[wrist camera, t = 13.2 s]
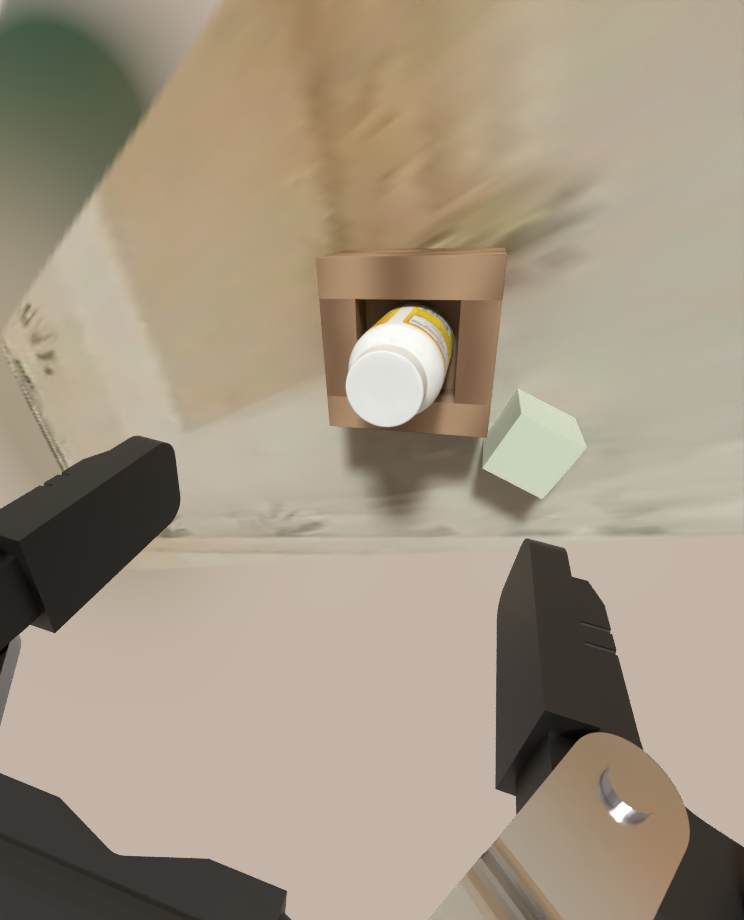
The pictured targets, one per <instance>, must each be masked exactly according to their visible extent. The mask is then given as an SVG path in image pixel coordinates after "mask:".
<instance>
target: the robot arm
mask: <svg viewBox="0 0 744 920" xmlns="http://www.w3.org/2000/svg"><path fill="white" fill-rule="evenodd" d="M179 506H180V491H179V483H178V475H177V467H176V459H175V452H174V449H173V447H172V446H171V445H170V444H168V443H165V442H161V441H157V440H153V439H149V438H146V437H142V436H133V437H131V438H129V439H127V440H126V441H124V442H123V443H121V444H119V445H118V446H116V447H114V448H113V449H111V450H110V451H107V452H104V453H101V454H98V455H95V456H92V457H89V458H86V459H83V460H81V461H80V462H78V463H76V464H75V465H73V466H71V467H70V468H68V469H66V470H65V471H63V472H62V475H56V476H55V477H53V478H51V479H50V480H48V481H46V482H45V483H44V486H39V487H36V488H35V489H33V490H32V491H30V492H28V493H26V494H25V495H23V496H21V497H20V498H18V499H16V500H15V501H13V502H12V503H10V504H8V505H6V506H5V507H3V508H1V509H0V724H1V720H2V717H3V713H4V709H5V705H6V702H7V698H8V694H9V690H10V686H11V683H12V679H13V675H14V671H15V667H16V664H17V660H18V656H19V653H20V648H21V639H20V636H19V634H20V633H21V632H22V631H23V630H24V629H26V628H27V627H28V626H29V625H33V626H36V627H39V628H42V629H44V630H48V631H50V632H53V633H56V632H57V631H58V630H59V629H60V628H61V627H62V626H63V625H64V624H65V623H66V622H67V621H68V620H69V619H70V618H71V617H72V616H73V615H74V614H76V612H78V611H79V609H81V608H82V607H83V606H84V605H85V604H86V603H87V602H88V601H89V600H90V599H91V598H92V597H93V596H94V595H95V594H96V593H98V592H99V590H101V589H102V588H103V587H104V586H105V585H106V584H107V583H108V582H109V581H110V580H111V579H112V578H113V577H114V576H115V575H117V574H118V572H119V571H121V570H122V569H123V568H124V567H125V566H126V565H127V564H128V563H129V562H130V561H131V560H132V559H133V558H134V557H135V556H136V555H138V554H139V553H140V552H141V551H142V550H143V549H144V548H145V547H146V546H147V545H148V544H149V543H150V542H151V541H152V540H153V539H154V538H155V537H156V536H158V535H159V534H160V533H161V532H162V531H163V530H164V529H165V528H166V527H167V526H168V525H169V524H170V523H171V522H172V521H173V519H174V518H175V516H176V514H177V512H178V509H179ZM610 630H611V628H610V624H609V621H608V617H607V613H606V609H605V605H604V604H603V602H602V601H601V599H600V598H599V596H598V595H597V594H596V592H595V591H594V589H593V588H592V586H591V585H590V584H589V582H588V581H585V580H582V579H578V578H574V577H572V576H571V571H570V566H569V561H568V555H567V552H566V550H565V549H564V548H562V547H558V546H554V545H550V544H546V543H543V542H539V541H535V540H531V539H525V540H524V541H523V543H522V545H521V547H520V550H519V552H518V555H517V557H516V559H515V562H514V564H513V566H512V569H511V571H510V574H509V576H508V579H507V581H506V583H505V586H504V588H503V591H502V594H501V597H500V601H499V606H498V613H497V674H496V677H497V678H496V789H498V790H500V791H503V792H506V793H509V794H512V795H514V796H516V816H515V818H514V819H513V820H512V821H511V823H510V824H509V825H508V826H507V827H506V829H505V830H504V831H503V832H502V833H501V835H500V836H499V837H498V839H497V840H496V841H495V842H494V843H493V844H492V846H491V847H490V848H489V849H488V850H487V851H486V852H485V853H484V854H483V855H482V856H481V857H480V858H479V859H478V861H477V862H476V863H475V864H474V866H472V868H471V869H470V870H469V871H468V872H467V874H466V875H465V876H464V877H463V878H462V880H461V881H460V882H459V883H458V884H457V886H456V887H455V888H454V889H453V891H452V892H451V893H450V894H449V895H448V897H447V898H446V899H445V900H444V901H443V903H442V904H441V905H440V906H439V907H438V909H437V910H436V911H435V912H434V914H433V915H432V916H431V917H430V918H429V920H744V847H742V846H741V845H739V844H738V843H736V842H735V841H733V840H732V839H730V838H728V837H727V836H726V835H724V834H722V833H721V832H719V831H718V830H716V829H715V828H713V827H712V826H710V825H709V824H707V823H706V822H704V821H703V820H701V819H700V818H699V817H697V816H696V815H694V814H693V813H692V812H691V811H690V810H689V809H687V808H686V807H685V806H684V804H683V801H682V799H681V796H680V795H679V793H678V791H677V790H676V787H675V786H674V784H673V783H672V781H671V780H670V778H669V777H668V775H667V774H666V773H665V772H664V771H663V769H662V768H661V767H660V766H659V765H658V764H657V763H656V762H655V761H654V760H653V759H652V758H651V757H650V756H649V755H648V754H646V753H645V752H644V751H643V748H642V745H641V742H640V738H639V734H638V731H637V727H636V723H635V719H634V715H633V712H632V708H631V704H630V700H629V696H628V693H627V689H626V685H625V681H624V678H623V674H622V670H621V666H620V663H619V659H618V656H617V655H615V653H616V647H615V643H614V640H613V636H612V634H610ZM286 895H287V891H286V890H283V889H281V888H278V887H276V886H273V885H271V884H268V883H266V882H264V881H261V880H259V879H256V878H254V877H252V876H249V875H247V874H244V873H242V872H239V871H237V870H234V869H232V868H229V867H227V866H225V865H222V864H220V863H218V862H215V861H212V860H210V859H196V858H169V857H140V856H122V855H118V854H115V853H113V852H112V851H111V850H109V849H108V848H107V847H106V846H105V845H104V843H102V841H101V840H100V839H99V838H98V837H97V836H96V835H95V834H94V833H93V832H92V831H91V830H90V829H89V828H88V827H87V826H86V825H85V824H84V823H83V822H82V820H81V819H80V818H79V817H78V816H77V815H76V814H75V813H74V812H73V811H72V810H71V809H70V808H69V807H68V806H67V805H66V804H65V803H64V802H63V801H62V800H61V799H60V798H59V797H57V796H54V795H52V794H49V793H47V792H45V791H42V790H40V789H37V788H35V787H33V786H30V785H28V784H25V783H23V782H20V781H18V780H15V779H13V778H10V777H8V776H6V775H3V774H1V773H0V920H291V919H290V918H289V917H288V916H287V915H286V914H285V907H286Z"/></svg>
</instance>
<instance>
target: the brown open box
mask: <svg viewBox="0 0 744 920" xmlns="http://www.w3.org/2000/svg"><path fill="white" fill-rule="evenodd" d="M506 263H507V254H506V251H505V248H448V249H384V250H345V251H341V252H338V253H334V254H330V255H326V256H322V257H319V258H316V264H317V276H318V288H319V300H320V312H321V324H322V336H323V348H324V360H325V372H326V384H327V396H328V408H329V420H330V426H340V427H353V428H366V429H379V430H393V431H406V432H419V433H432V434H445V435H458V436H471V437H484V438H487V433H488V424H489V415H490V406H491V397H492V388H493V379H494V370H495V361H496V353H497V344H498V335H499V326H500V317H501V308H502V299H503V290H504V281H505V272H506ZM408 302H420V303H425V304H428V305H431V306H433V307H434V308H436V309H437V310H439V311H440V312H441V313H442V314H443V315H444V316H445V318H446V319H447V320H448V322H449V324H450V326H451V328H452V332H453V336H454V349H453V354H452V357H451V360H450V363H449V366H448V369H447V373H446V376H445V379H444V382H443V385H442V388H441V390H440V392H439V394H438V396H437V398H436V399H435V400H434V402H433V403H432V404H431V405H430V406H429V407H428V408H426V409H425V410H423V411H422V412H420V413H418V414H416V415H415V416H414V417H413V418H411V419H410V420H409V421H407V422H405V423H404V424H401V425H398V426H394V427H380V426H376V425H373V424H370V423H368V422H367V421H365V420H363V419H362V418H361V417H360V416H359V415H358V414H357V413H356V412H355V411H354V410H353V408H352V407H351V405H350V403H349V401H348V398H347V394H346V379H347V375H348V372H349V370H348V369H349V360H350V356H351V353H352V350H353V348H354V346H355V344H356V343H357V342H358V340H359V339H360V338H361V337H362V336H363V335H364V334H365V333H366V332H367V331H368V330H369V329H370V328H371V327H372V326H373V325H375V324H376V323H377V322H378V321H379V320H380V319H381V318H382V317H384V316H385V315H386V314H387V313H388V312H389V311H390V310H392V309H393V308H395V307H397V306H399V305H401V304H404V303H408Z"/></svg>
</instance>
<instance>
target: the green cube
mask: <svg viewBox="0 0 744 920" xmlns="http://www.w3.org/2000/svg"><path fill="white" fill-rule="evenodd" d="M586 448H587V446H586V444H585V442H584V439H583V437H582V434H581V432H580V429H579V427H578V424H577V422H576V419H575V418H573V417H571V416H569V415H568V414H566V413H564V412H562V411H560V410H558V409H556V408H554V407H552V406H550V405H548V404H546V403H544V402H542V401H541V400H539V399H537V398H535V397H533V396H531V395H529V394H527V393H525V392H523V391H521V390H519V389H517V391H516V392H515V394H514V395H513V397H512V398H511V400H510V401H509V402H508V404H507V405H506V407H505V408H504V410H503V411H502V413H501V414H500V416H499V417H498V419H497V420H496V421H495V423H494V424H493V426H492V427H491V429H490V430H489V432H488V433H487V438H484V439H483V463H482V469H484V470H486V471H488V472H490V473H492V474H494V475H496V476H498V477H500V478H502V479H504V480H506V481H508V482H510V483H512V484H513V485H515V486H517V487H519V488H521V489H523V490H525V491H527V492H529V493H531V494H533V495H535V496H537V497H539V498H541V499H543V498H544V497H545V496H546V495H547V493H548V492H549V491H550V490H551V489H552V488H553V487H554V485H555V484H556V483H557V482H558V481H559V480H560V478H561V477H562V476H563V475H564V474H565V473H566V471H567V470H568V469H569V468H570V467H571V466H572V464H573V463H574V462H575V461H576V460H577V459H578V457H579V456H580V455H581V454H582V453H583V452H584V450H585V449H586Z"/></svg>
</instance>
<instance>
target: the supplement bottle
mask: <svg viewBox="0 0 744 920" xmlns="http://www.w3.org/2000/svg"><path fill="white" fill-rule="evenodd" d="M453 349H454V336H453V332H452V328H451V326H450V324H449V322H448V320H447V319H446V318H445V316H444V315H443V314H442V313H441V312H440V311H439V310H437V309H436V308H434V307H433V306H431V305H428V304H425V303H420V302H408V303H404V304H401V305H399V306H397V307H395V308H393V309H392V310H390V311H389V312H388V313H387V314H386V315H385V316H384V317H382V318H381V319H380V320H379V321H378V322H377V323H376V324H375V325H373V326H372V327H371V328H370V329H369V330H368V331H367V332H366V333H365V334H364V335H363V336H362V337H361V338H360V339H359V340H358V342H357V343H356V344H355V346H354V348H353V350H352V353H351V356H350V360H349V369H348V370H349V372H348V375H347V379H346V394H347V398H348V401H349V403H350V405H351V407H352V408H353V410H354V411H355V412H356V413H357V414H358V415H359V416H360V417H361V418H362V419H363V420H365V421H367V422H368V423H370V424H373V425H376V426H380V427H394V426H398V425H401V424H404V423H405V422H407V421H409V420H410V419H411V418H413V417H414V416H415V415H416V414H418V413H420V412H422V411H423V410H425V409H426V408H428V407H429V406H430V405H431V404H432V403H433V402H434V400H435V399H436V398H437V396H438V394H439V392H440V390H441V388H442V385H443V382H444V379H445V376H446V373H447V369H448V366H449V363H450V360H451V357H452V354H453Z"/></svg>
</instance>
